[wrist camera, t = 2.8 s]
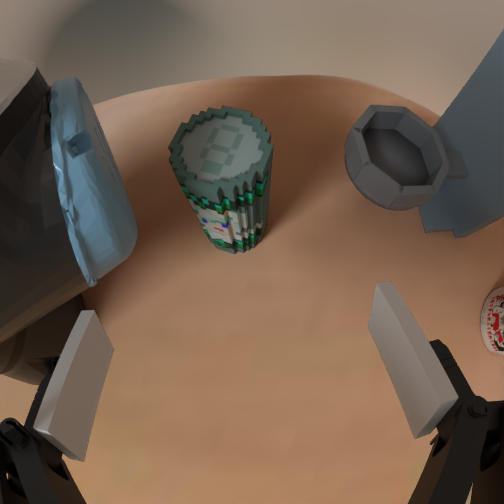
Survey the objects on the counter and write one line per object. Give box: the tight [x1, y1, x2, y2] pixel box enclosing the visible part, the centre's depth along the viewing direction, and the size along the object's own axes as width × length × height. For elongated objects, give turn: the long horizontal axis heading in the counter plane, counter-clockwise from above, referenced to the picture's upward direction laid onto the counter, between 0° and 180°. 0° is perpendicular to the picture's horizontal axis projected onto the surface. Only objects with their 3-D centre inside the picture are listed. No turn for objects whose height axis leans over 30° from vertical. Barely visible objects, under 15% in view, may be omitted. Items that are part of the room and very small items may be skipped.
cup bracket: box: [344, 29, 504, 238], centre depth 21 cm, size 17×14×26 cm
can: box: [168, 106, 273, 254], centre depth 25 cm, size 6×6×15 cm
